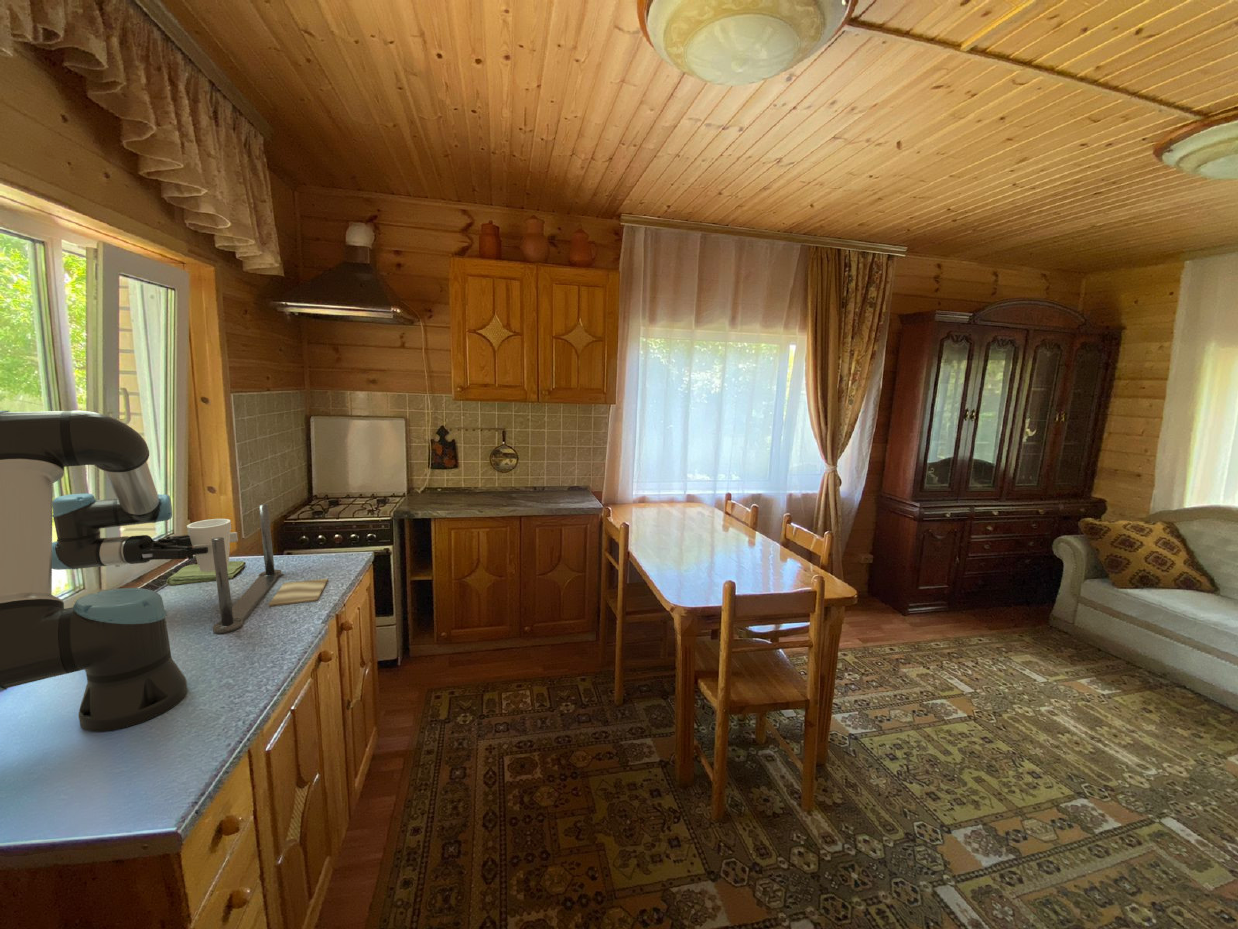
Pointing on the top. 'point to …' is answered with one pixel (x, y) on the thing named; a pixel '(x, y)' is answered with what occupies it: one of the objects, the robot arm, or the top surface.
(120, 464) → the robot arm
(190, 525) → the foam cup
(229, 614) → the rod gate
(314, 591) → the birch pad
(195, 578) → the washcloth
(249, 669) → the top surface
